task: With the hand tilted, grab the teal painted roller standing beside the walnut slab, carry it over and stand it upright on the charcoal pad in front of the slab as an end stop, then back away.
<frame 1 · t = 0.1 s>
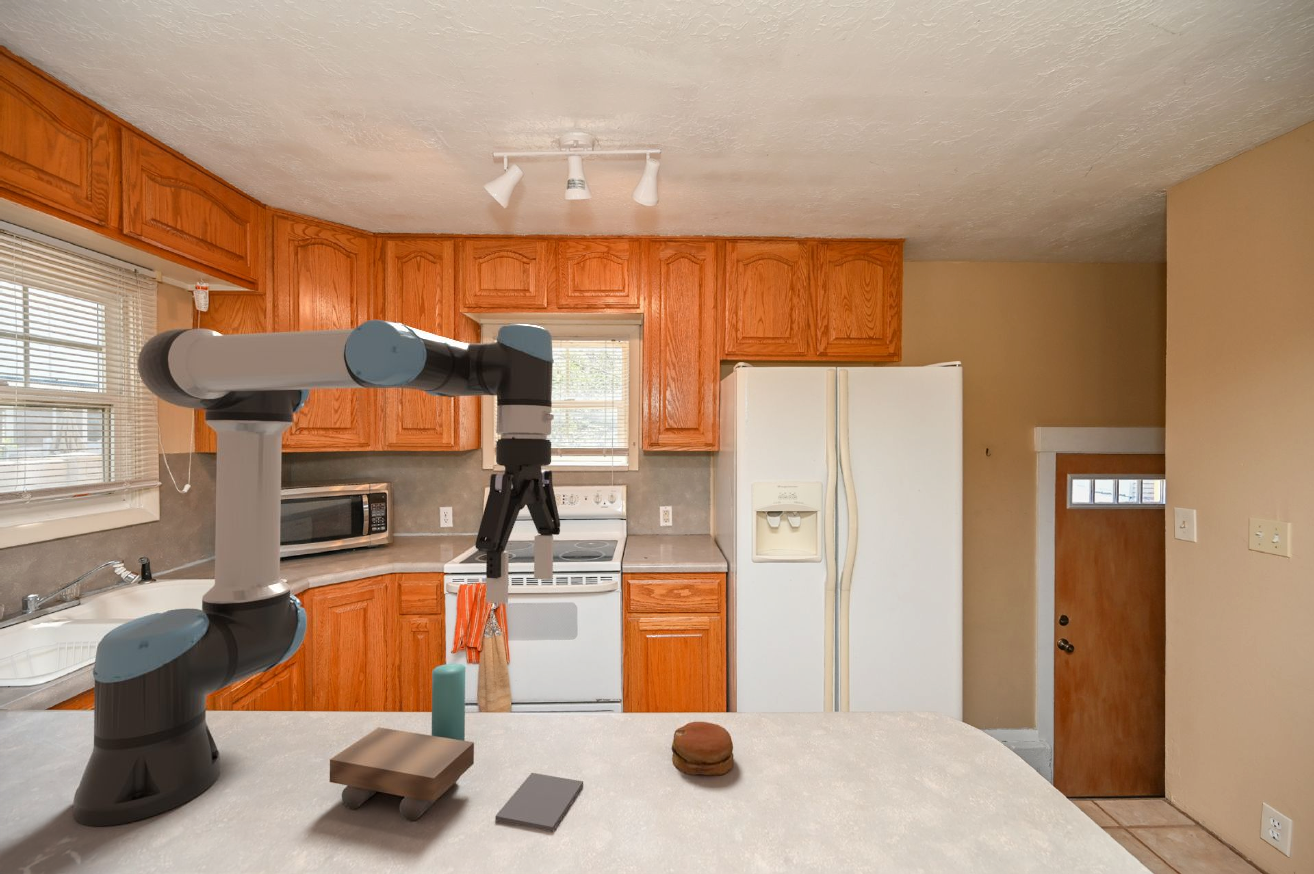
hand: (522, 589, 80), 28 cm above the countertop, tool pointing down, fingers open, 13 cm apart
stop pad: (541, 802, 77), on the countertop
slab: (403, 794, 79), on the countertop
burger: (701, 762, 88), on the countertop
roller: (448, 744, 92), on the countertop
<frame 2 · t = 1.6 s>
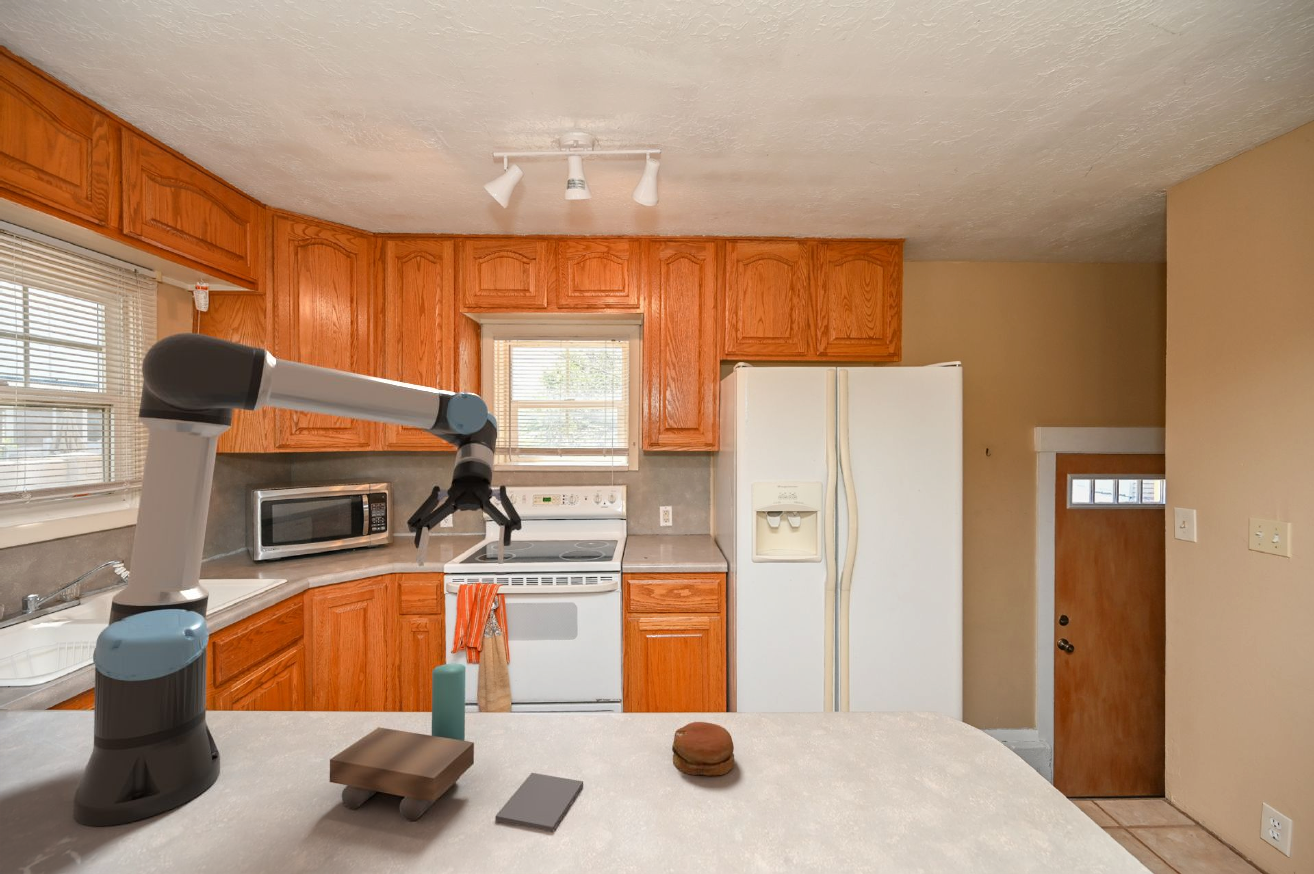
hand: (460, 560, 102), 27 cm above the countertop, tool tilted 45°, fingers open, 13 cm apart
nothing on the countertop moved.
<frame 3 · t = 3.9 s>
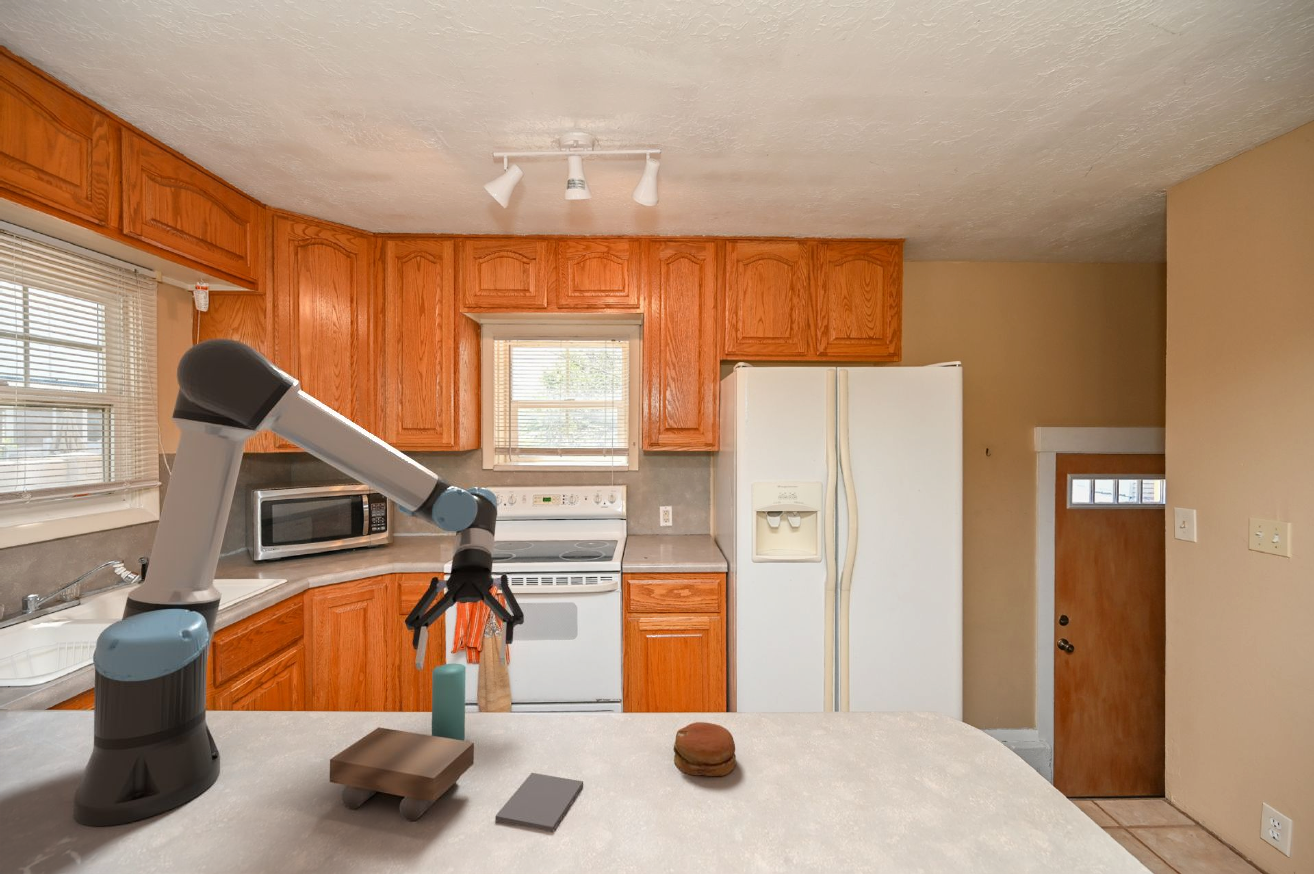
hand: (461, 664, 97), 11 cm above the countertop, tool tilted 45°, fingers open, 13 cm apart
nothing on the countertop moved.
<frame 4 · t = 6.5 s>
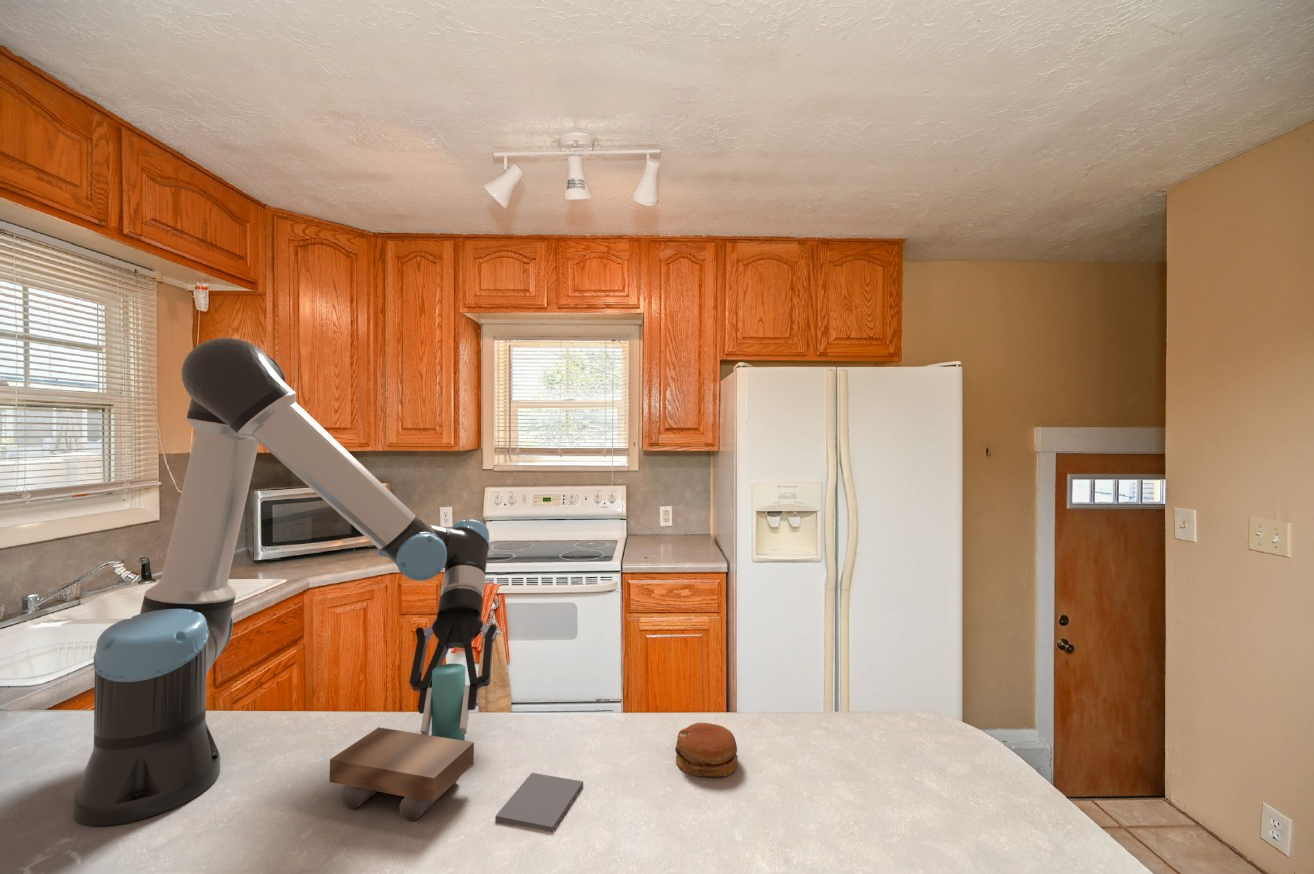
hand: (444, 732, 88), 4 cm above the countertop, tool tilted 45°, fingers closed on roller, 5 cm apart
roller: (448, 744, 92), on the countertop, touching gripper
everything else where it was.
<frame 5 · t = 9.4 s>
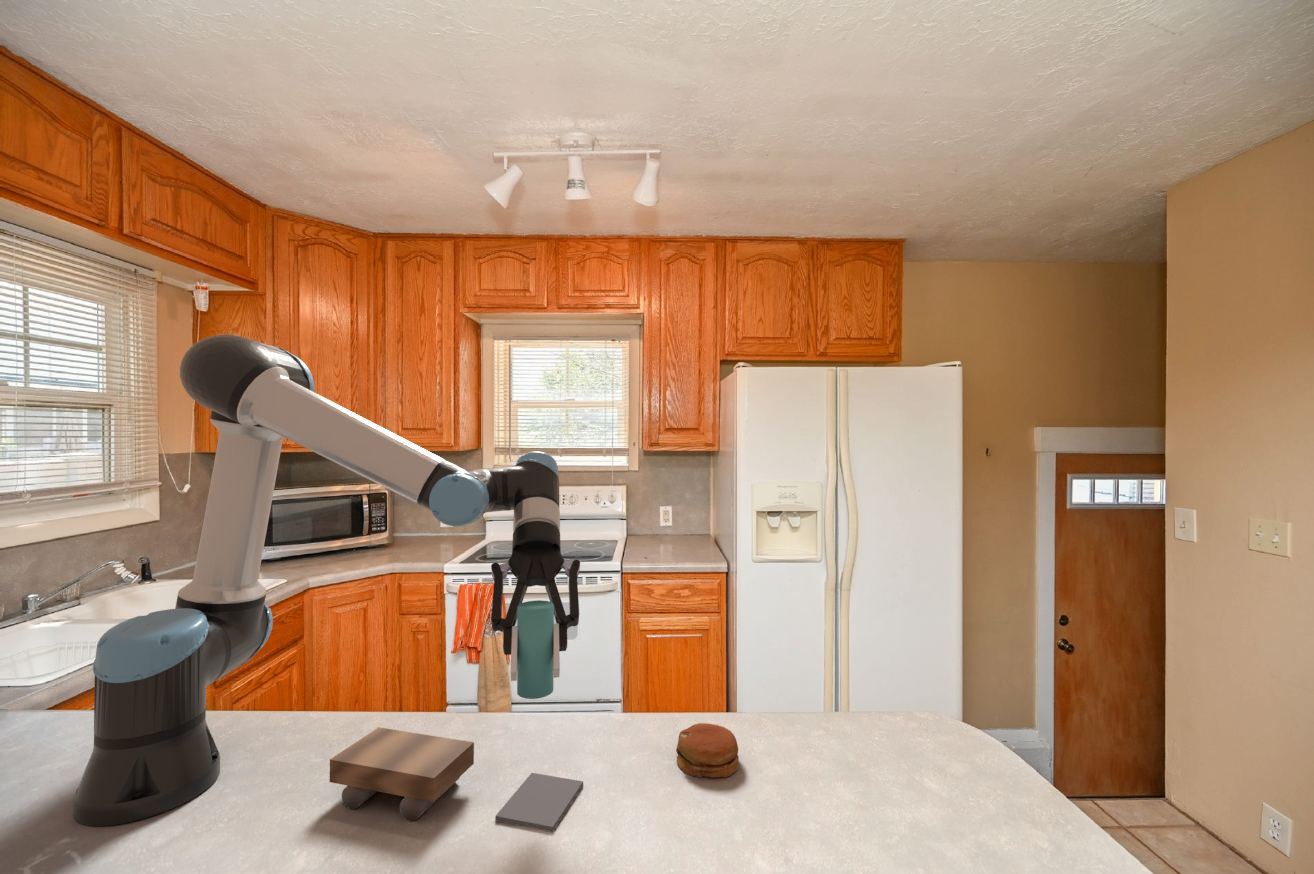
hand: (535, 674, 77), 17 cm above the countertop, tool tilted 45°, fingers closed on roller, 5 cm apart
roller: (535, 690, 81), point 14 cm above the countertop, touching gripper
everything else where it was.
when the fingers open (6 cm above the countertop, at t = 12.2 s): roller drops 1 cm, resting on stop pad.
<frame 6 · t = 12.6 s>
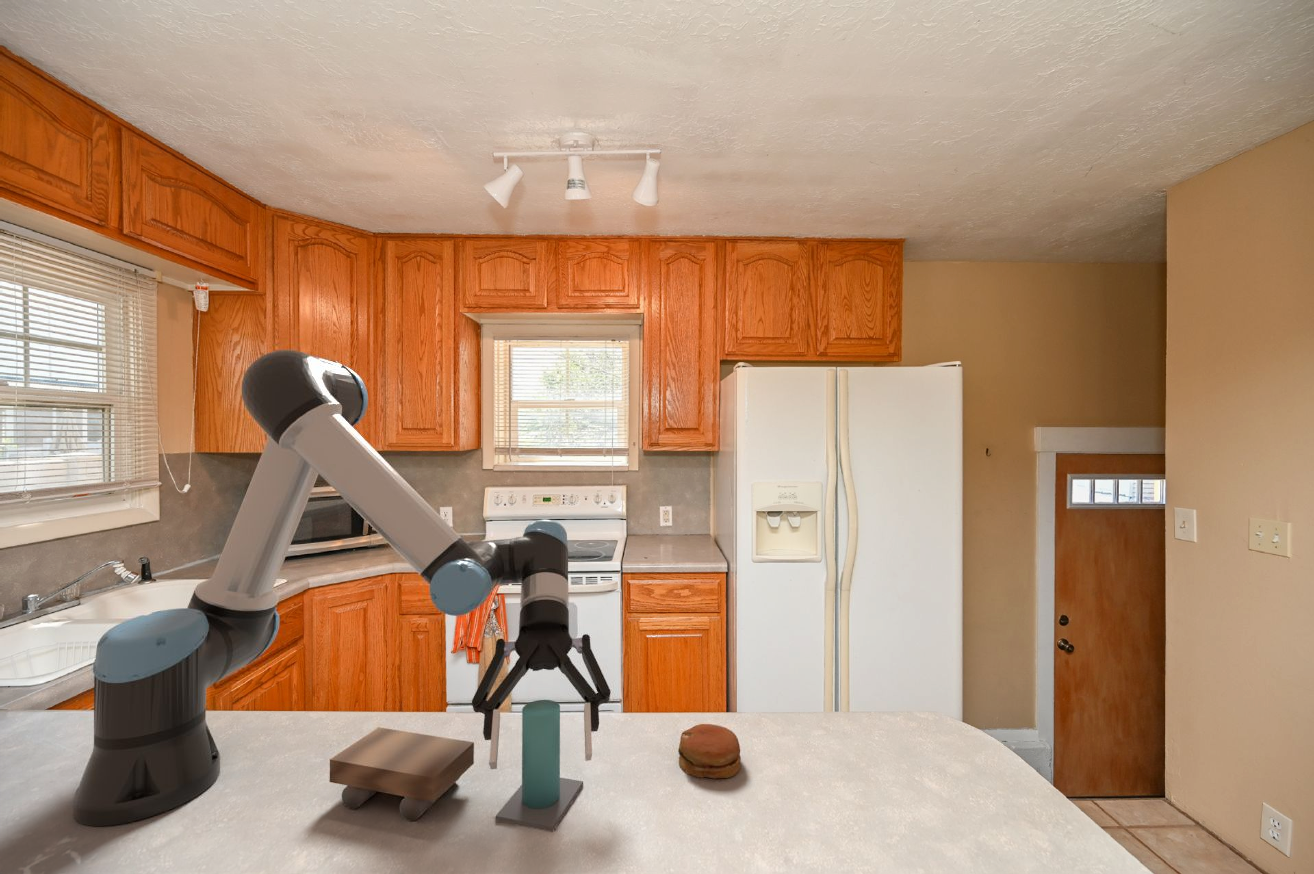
hand: (541, 761, 75), 7 cm above the countertop, tool tilted 45°, fingers open, 11 cm apart
roller: (540, 797, 77), point 1 cm above the countertop, touching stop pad
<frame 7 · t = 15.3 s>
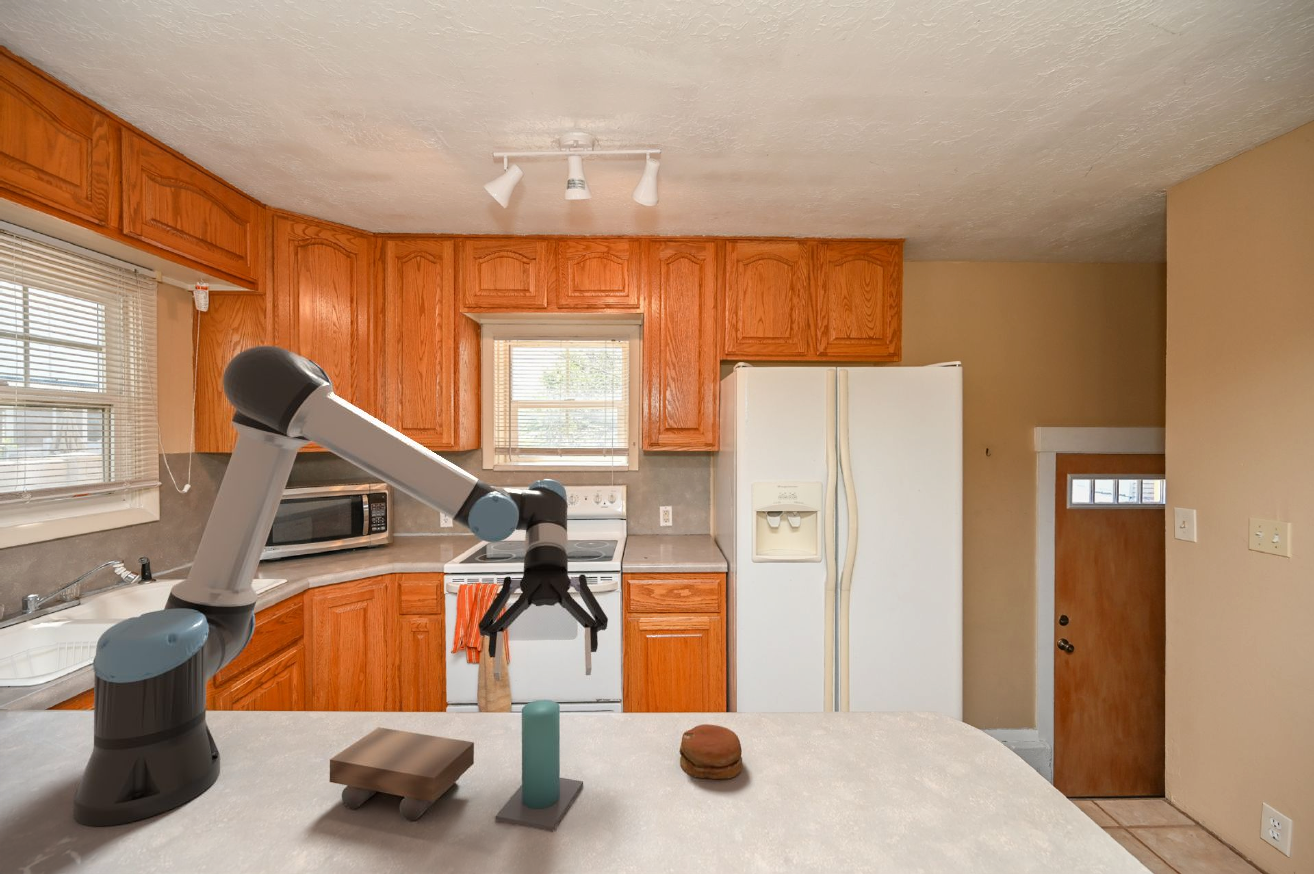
hand: (543, 674, 87), 13 cm above the countertop, tool tilted 45°, fingers open, 13 cm apart
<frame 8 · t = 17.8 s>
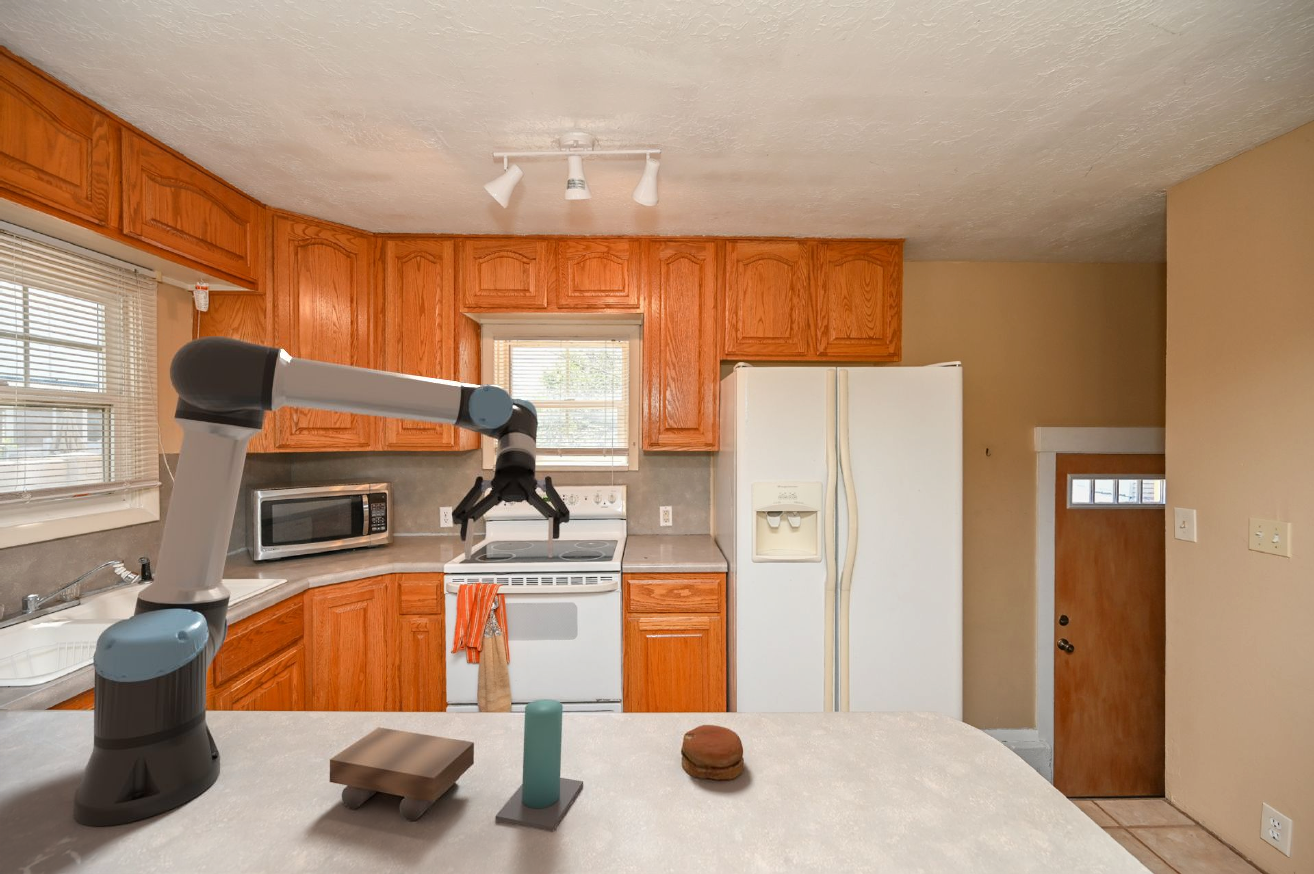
hand: (509, 554, 97), 30 cm above the countertop, tool tilted 45°, fingers open, 13 cm apart
at the end: roller 0.1 cm off-centre on the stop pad, point 0.6 cm above the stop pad's base; roller tilted 1°; the gripper is holding nothing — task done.
